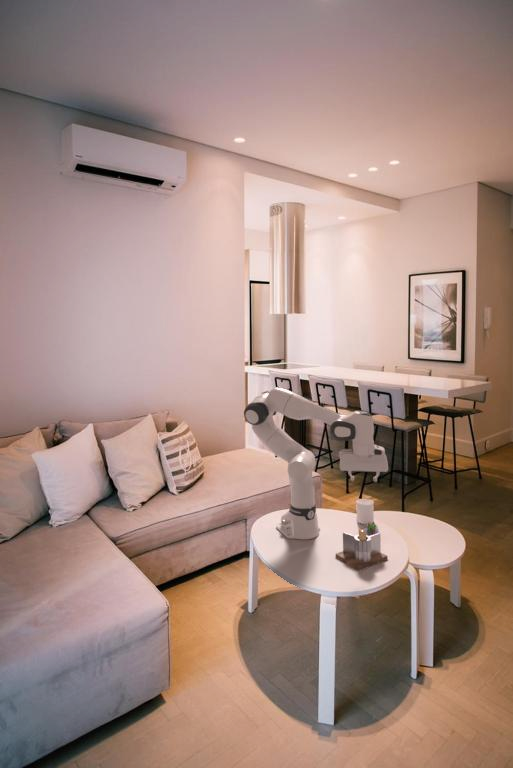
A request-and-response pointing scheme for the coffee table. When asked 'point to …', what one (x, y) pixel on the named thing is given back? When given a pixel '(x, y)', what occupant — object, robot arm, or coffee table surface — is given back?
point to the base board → (358, 565)
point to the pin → (362, 534)
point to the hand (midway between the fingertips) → (363, 481)
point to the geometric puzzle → (371, 529)
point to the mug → (365, 511)
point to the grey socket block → (361, 546)
